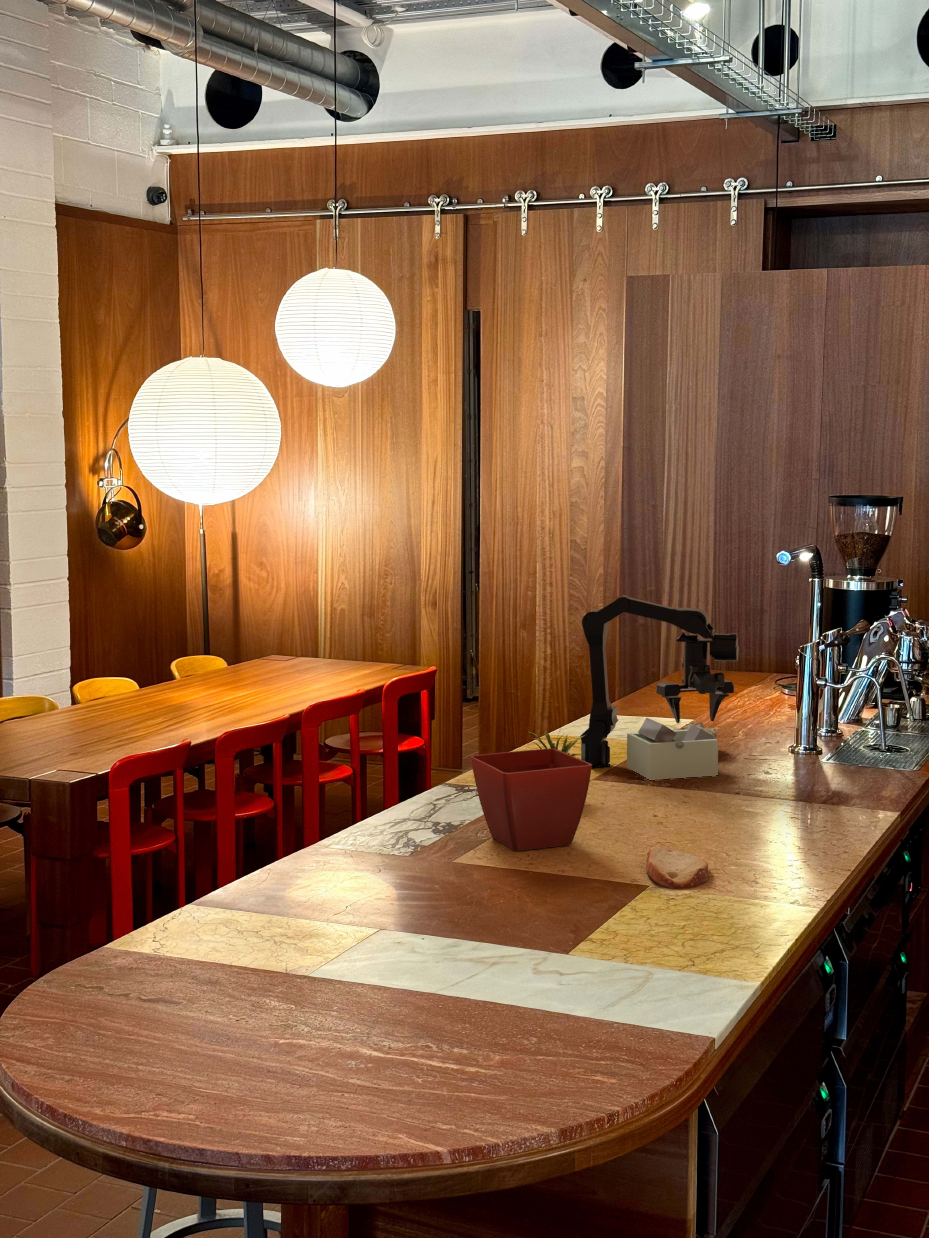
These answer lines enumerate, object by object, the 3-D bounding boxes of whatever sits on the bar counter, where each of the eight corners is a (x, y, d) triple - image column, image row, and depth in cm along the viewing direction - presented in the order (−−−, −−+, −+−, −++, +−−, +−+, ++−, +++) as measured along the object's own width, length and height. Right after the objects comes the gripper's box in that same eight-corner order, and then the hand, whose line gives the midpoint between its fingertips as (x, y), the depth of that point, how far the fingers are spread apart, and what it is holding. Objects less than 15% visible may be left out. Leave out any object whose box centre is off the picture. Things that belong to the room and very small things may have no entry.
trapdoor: (655, 740, 327) (664, 724, 328) (636, 731, 339) (645, 716, 339) (705, 771, 332) (714, 755, 332) (685, 761, 343) (693, 746, 343)
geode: (673, 779, 352) (729, 767, 353) (671, 749, 348) (727, 737, 348) (657, 744, 367) (710, 733, 368) (654, 715, 363) (708, 704, 363)
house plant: (509, 800, 308) (509, 730, 306) (535, 788, 320) (535, 720, 318) (567, 807, 301) (567, 735, 299) (591, 794, 313) (591, 725, 311)
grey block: (688, 749, 334) (701, 728, 334) (679, 745, 339) (691, 724, 339) (702, 758, 335) (714, 737, 335) (693, 753, 340) (705, 733, 340)
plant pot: (469, 834, 279) (468, 754, 277) (554, 825, 286) (553, 747, 284) (504, 858, 261) (504, 773, 260) (593, 848, 268) (594, 764, 266)
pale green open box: (650, 781, 326) (650, 743, 325) (626, 768, 341) (626, 731, 340) (718, 776, 331) (719, 738, 330) (691, 763, 346) (692, 727, 345)
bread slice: (661, 854, 265) (661, 836, 264) (739, 873, 252) (739, 853, 252) (602, 874, 252) (602, 854, 252) (681, 894, 239) (681, 873, 239)
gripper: (674, 665, 324) (673, 730, 326) (745, 662, 329) (744, 725, 331) (655, 659, 335) (655, 722, 337) (724, 656, 340) (723, 718, 342)
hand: (695, 722), depth 336 cm, fingers open, 9 cm apart
